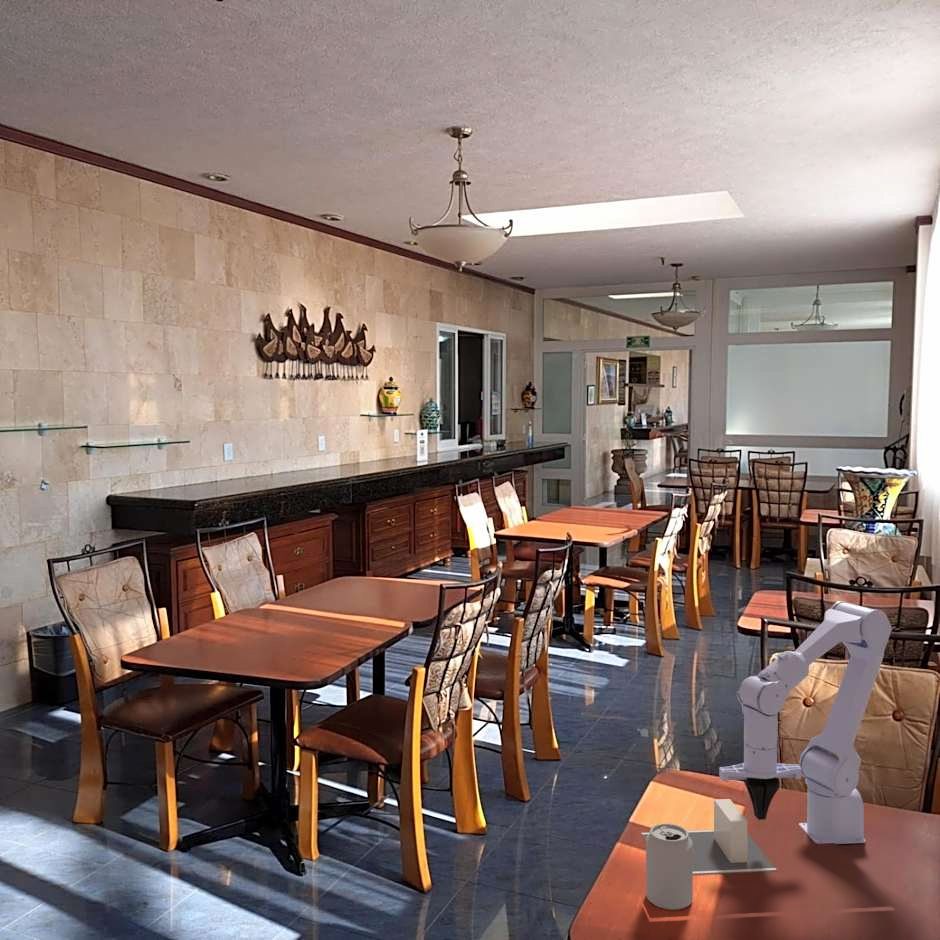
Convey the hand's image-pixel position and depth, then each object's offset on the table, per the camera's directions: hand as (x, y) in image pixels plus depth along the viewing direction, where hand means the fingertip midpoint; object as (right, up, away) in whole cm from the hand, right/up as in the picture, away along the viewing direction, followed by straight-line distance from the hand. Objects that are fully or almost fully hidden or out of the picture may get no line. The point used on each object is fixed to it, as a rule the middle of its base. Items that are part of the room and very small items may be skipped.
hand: (760, 817), depth 162 cm
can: (-20, -8, -16) cm, 27 cm away
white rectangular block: (-5, -6, 0) cm, 8 cm away
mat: (-10, -7, 0) cm, 12 cm away
